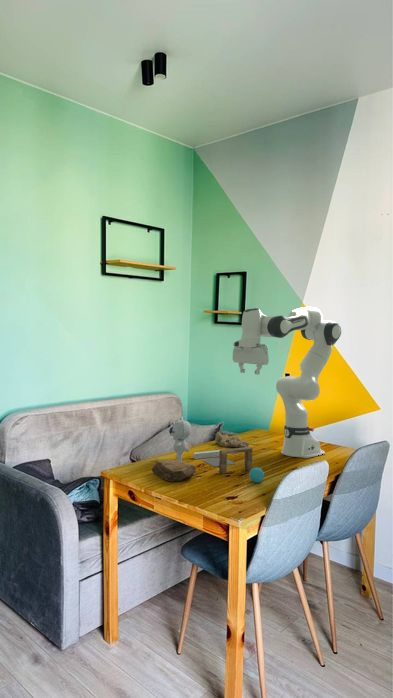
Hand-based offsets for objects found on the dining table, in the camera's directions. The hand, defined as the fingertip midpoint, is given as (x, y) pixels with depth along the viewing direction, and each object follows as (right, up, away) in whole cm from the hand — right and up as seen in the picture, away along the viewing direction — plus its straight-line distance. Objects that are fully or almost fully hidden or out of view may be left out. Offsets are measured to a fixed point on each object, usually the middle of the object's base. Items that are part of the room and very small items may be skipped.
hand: (249, 373), depth 217 cm
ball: (0, -40, -25) cm, 47 cm away
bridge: (-7, -43, -10) cm, 44 cm away
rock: (-34, -43, -19) cm, 58 cm away
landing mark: (-14, -42, +4) cm, 44 cm away
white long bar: (-18, -41, +13) cm, 47 cm away
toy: (-32, -42, +5) cm, 53 cm away
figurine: (-5, -41, +36) cm, 55 cm away
